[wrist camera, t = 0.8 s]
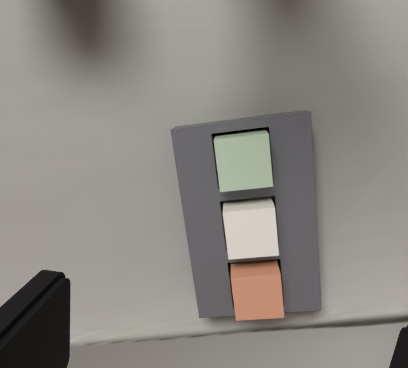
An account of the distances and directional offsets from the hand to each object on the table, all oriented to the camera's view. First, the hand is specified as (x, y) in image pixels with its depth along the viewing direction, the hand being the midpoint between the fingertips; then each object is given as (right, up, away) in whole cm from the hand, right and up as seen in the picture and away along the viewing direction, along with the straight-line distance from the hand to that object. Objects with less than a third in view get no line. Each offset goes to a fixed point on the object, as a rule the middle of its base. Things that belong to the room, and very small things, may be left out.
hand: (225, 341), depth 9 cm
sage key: (+3, +7, +21) cm, 23 cm away
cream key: (+4, +1, +23) cm, 23 cm away
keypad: (+4, +1, +24) cm, 25 cm away
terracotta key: (+5, -5, +24) cm, 25 cm away
